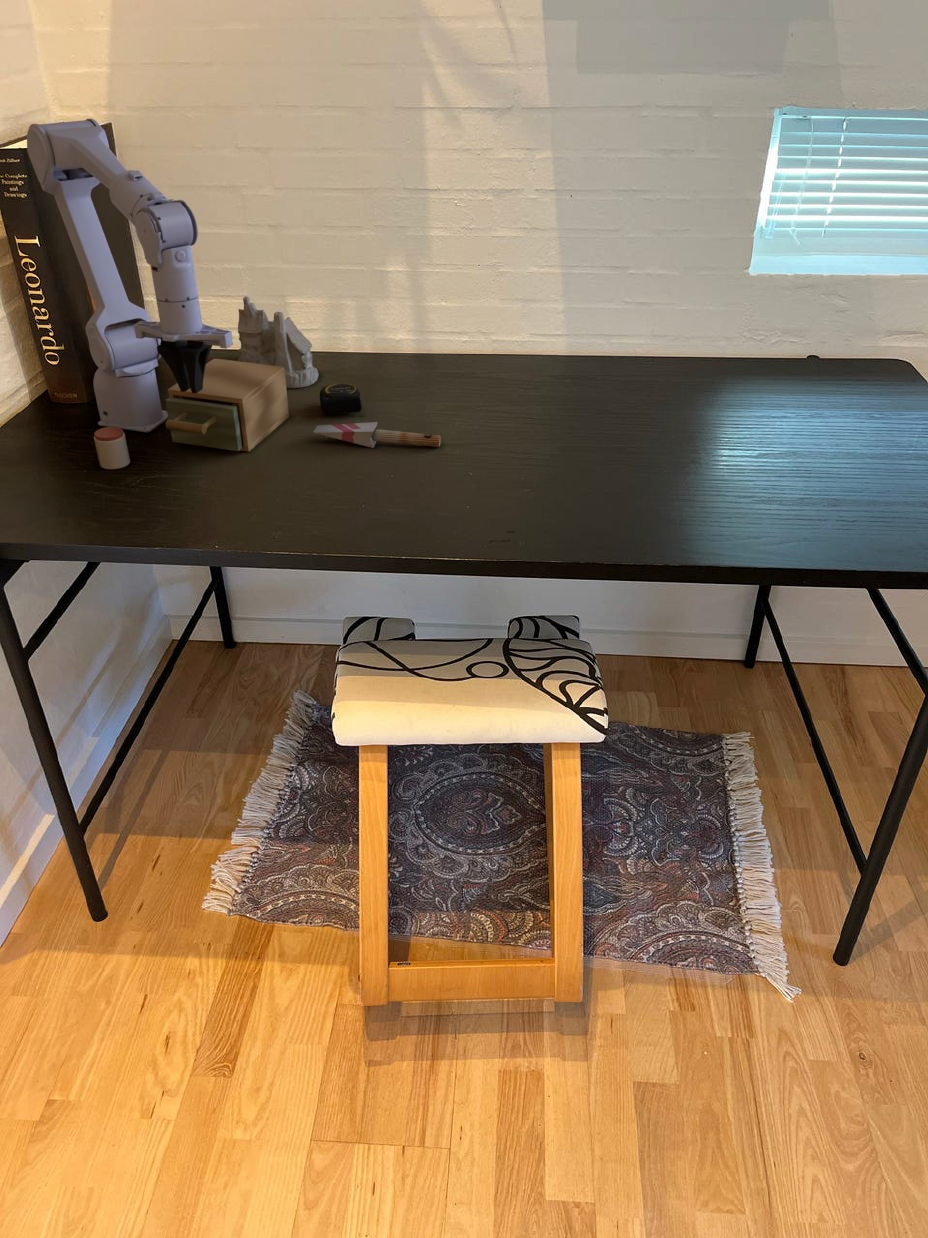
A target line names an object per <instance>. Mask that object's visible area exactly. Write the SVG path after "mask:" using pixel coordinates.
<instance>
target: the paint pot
mask: <svg viewBox="0 0 928 1238" xmlns="http://www.w3.org/2000/svg"><path fill="white" fill-rule="evenodd" d="M93 434H94V436H93V442H94V446H95V450H96V455H97V459H98V464H99V466H100V468H103V469H104V470H117V469H122V468H125V467H127V466H128V465H129V464H130V463H131V458H130V453H129V448H128V444H127V438H126V433H125V432H124V429H121V428H118V427H106V426H104V427H103V428H99V429H97V430H96V431H95V432H94V433H93Z"/></svg>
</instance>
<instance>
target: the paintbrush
mask: <svg viewBox="0 0 928 1238" xmlns="http://www.w3.org/2000/svg"><path fill="white" fill-rule="evenodd" d="M378 423H379V422H378V421H375V422H374V421H371V422H356V423H355V422H354V423H340V424H320V425H316V426H315V428H314V430H313V432H312V433H313V434H317V435H319V436H320V435H321V436H324V437H328V438H332V439H337V440H340V441H345V442H348V443H352V444H356V445H359V446H364V447H368V448H371V449H374V448H375V445H376V443H377V442H381V443H382V442H383V443H393V444H401V445H403V444H404V445H411V446H413V445H414V446H423V447H424V446H429V447H432V448H440V447H441V439H442V438H441V435H439V434H438V435H437V434H430V435H429V434H426V433H416V432H405V431H397V430H387V429H386V430H385V429H377V426H378Z"/></svg>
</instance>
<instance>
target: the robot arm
mask: <svg viewBox="0 0 928 1238" xmlns="http://www.w3.org/2000/svg"><path fill="white" fill-rule="evenodd" d="M26 151H27V154H28V157H29V160H30V162H31V165H32V168H33V170H34V173H35V175H36V178H37V181H38V182H39V184H40V187H41V189H42V191H43V192H46V193H48V194H49V195H53V197H54V200H55V202H56V205H57V208H58V210H59V213H60V216H61V218H62V222H63V224H64V227H65V229H66V232H67V234H68V237H69V240H70V242H71V245H72V247H73V248H72V249H73V250H74V253H75V255H76V258H77V261H78V264H79V267H80V269H81V272H82V273H83V276H84V279H85V282H86V284H87V287H88V291H89V292H90V296H91V298H92V300H93V304H94V306H95V311H94V312H93V314H92V315H91V317H90V318H89V320H88V321H87V323H86V324H85V328H84V329H85V333H86V336H87V340H88V347H89V352H90V355H91V358H92V360H93V362H94V364H95V365H96V366H97V369H96V371H95V373H94V376H93V383H92V384H93V392H94V396H95V399H96V400H95V401H96V405H97V410H98V414H99V415H98V416H99V419H100V420H99V421H98V422H97V424H98V426H99V427H118V428H121V429H122V430H126V431H127V430H128V431H135V432H142V433H150V432H152V431H153V430H154V429H156V428H157V427H159V426H160V425H162V424H163V423H165V422H166V421H167V420H169V419H168V414H167V410H163V408H162V403H161V398H160V397H161V396H160V392H159V385H158V380H157V375H156V369H155V368H157V367H159V363H158V361H159V360H161V358H162V359H163V360H164V362H165V363H166V365H167V366H168V367H169V369H170V371H171V373H172V374H173V377H174V378H175V381H176V384H177V383H178V386H179V388H180V390H181V392H185V391H187V390H188V389H190V388H191V391H192V393H198V392H199V391H201V390H202V389H203V379H204V371H205V366H206V364H207V363H208V362H207V361H208V358H209V355H210V353H211V351H212V348H213V346H215V347H219V348H220V349H228V348H230V347H232V345H234V341H233V332H232V330H226V329H221V328H218V327H214V326H211V325H207V324H204V323H203V320H202V319H203V318H202V312H201V306H200V297H199V292H198V291H199V290H198V284H197V278H196V270H195V265H194V256H193V250H192V249H193V248H192V246H195V245H196V243H197V241H198V235H199V230H198V224H197V220H196V217H195V214H194V213H193V211H192V209H191V207H190V206H189V205H188V204H187V202H186V201H185V200H183V199H176V200H175V199H174V198H167V197H166V196H165V195H164V194H163V192H161V191H160V190H159V189H158V188H157V187H156V186H155V185H154V184H153V183H152V182H151V181H150V180H148V178H147V177H146V176H144V174H143V173H142V172H141V171H140V170H132V169H129V170H128V169H127V168H126V167H125V166H124V165H123V164H122V162H121V161H120V160H119V158H117V156H116V154H114V153H113V152H112V150H111V149H110V145H109V140H108V136H107V134H106V131H105V129H104V128H103V127H102V126H101V125H100V124H99V122H98V121H97V120H96V119H94V118H85V119H84V120H73V121H65V122H64V121H62V122H61V121H60V122H53V123H42V124H40V123H31V124H30V125H29V126H28V129H27V132H26ZM100 184H102V185H103V186H105V187H106V188H107V189H108V190H109V199H110V201H111V203H112V205H113V206H114V207H115V208H116V209H117V210H118V211H119V212H120V213H121V214H122V215H123V216H124V217H125V218H126V219H127V220H128V221H129V222H130V223H131V224H132V225H133V226H134V229H135V233H136V236H137V238H138V242H139V243H140V245H141V247H142V250H143V254H144V260H146V264H147V265H150V271H151V277H152V278H151V279H152V283H153V288H154V294H155V300H156V306H157V312H158V318H159V321H153V320H152V318H151V316H150V314H149V311H147V310H146V309H144V308H143V307H140V306H138V305H136V304H134V303H133V302H131V301H130V300H129V298H128V296H127V293H126V289H125V287H124V284H123V281H122V279H121V276H120V274H119V271H118V268H117V265H116V263H115V260H114V257H113V254H112V252H111V249H110V246H109V244H108V241H107V238H106V235H105V232H104V230H103V226H102V224H101V222H100V219H99V216H98V213H97V211H96V208H95V206H94V203H93V200H92V197H91V194H92V190H93V189H94V188H95V187H97V186H99V185H100ZM124 324H127V325H124ZM119 325H123V326H119ZM116 326H118V327H116ZM111 327H113V328H111ZM114 327H115V328H114ZM107 328H111V329H107Z"/></svg>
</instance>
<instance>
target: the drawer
mask: <svg viewBox="0 0 928 1238" xmlns="http://www.w3.org/2000/svg"><path fill="white" fill-rule="evenodd" d="M178 398H179V399H176V398H169V397H168V398H166V399H165V400H164V402H165V407H166V408H165V409H166V411H167V414H168V419H167V420H166V421H165V428H166V429H167V430H169V431H170V436H171V442H172V443H177V444H184V445H193V446H200V447H206V448H214V449H220V450H228V451H233V452H240V451H239V450H241V449H242V444H241V442H243V436H242V429H241V421H240V413H239V405H238V404H239V403H232V402H224V401H216V400H209V399H201V398H194V397H186V396H178Z"/></svg>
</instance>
